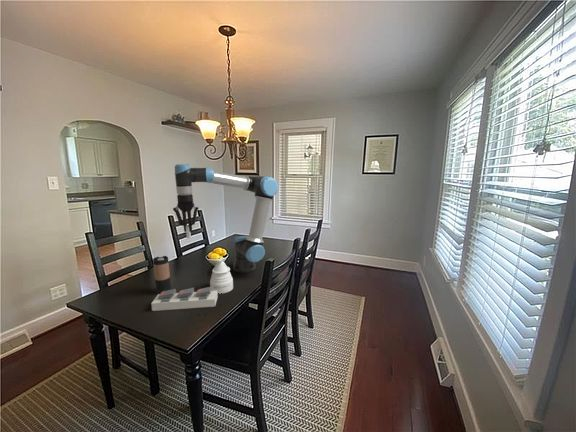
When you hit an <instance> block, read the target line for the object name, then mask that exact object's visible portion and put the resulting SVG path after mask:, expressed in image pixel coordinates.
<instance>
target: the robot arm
mask: <svg viewBox="0 0 576 432" xmlns="http://www.w3.org/2000/svg"><path fill="white" fill-rule="evenodd" d="M174 177H175V186H176V194H177V195H176V197H177V198H176V199H177V204H176V206H175V207H173V208H172V211H174V213H175V215H176V218H177V220H178V221H177V222H178V224H179V225H180V226H183V232H185V233H186V239H190V238H191V237H192V235H191V234H192V231H193V226H194V225H195V224H196V221H197V220H196V219H197V214H198V210H199V209H200V207H199V206H197V205H196V204H195V203H194V196H193V186H192V183H207V184H213V185H221V186H227V187H233V188H237V189H239V188H240V189H243V191H247V192H251V193H254V197H255V203H254V209H253V214H252V217H251V223H250V224H251V225H250V229H249V234H248V235H240V236H236V237H235V238H234V255H235V256H234V257H235V259H234V263H233V266H232V269H233V271H234V272H236V273H239V274H240V273H241V274H244V273H245V274H246V273H250V272H253V271H254V270H255V269H256V263H258V262H260V261H261V260H262V259H263V258H264V257H265V255H266V250H265V247H264V243H265V241H264V239H263V236H264V233H265V226H266V221H267V216H268V211H269V207H270V203H271V201H273V199H274V196H275V195H276V194H277V193H278V191H279V185H278V182H277V180H276V179H275V178H273V177H271V176H267V175H266V176H261V175H256V176H255V175H253V176H252V175H245V176H243V175H242V176H241V175H238V174H237V175H236V174H231V173H227V172H221V171H216V170H214V169H213V168H212V167H191V165H190V164H187V163H186V164H183V163H182V164H180V163H179V164H175V165H174ZM192 210H193V216H192ZM180 211H181V213H180Z"/></svg>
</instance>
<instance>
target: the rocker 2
mask: <svg viewBox="0 0 576 432" xmlns="http://www.w3.org/2000/svg"><path fill="white" fill-rule="evenodd" d="M211 291H212V287H210V286H209V287H208V286H207V287H203V288H198V289H197V291H196V292H197V293H196V297H199V296H203V295H207V294H210V293H211Z"/></svg>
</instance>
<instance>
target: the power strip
mask: <svg viewBox="0 0 576 432" xmlns="http://www.w3.org/2000/svg"><path fill="white" fill-rule="evenodd" d="M178 293H179V292H176V293H175V295H174V296H172V297H168V298H163V299H159V297H158V296H159V295H160V294H157V295H156V297H155V298H154V299H153V301H152V302H151V303H150V305H151V311H152V312H157V311H159V312H160V311H171V310H185V309H199V308H200V309H201V308H213V307H216V305H217V301H218V296H219V294H217V291H211V293H210V294H207V295H203V296H199V297H196V293H197V291H194V292H193V294H192V295H190V296H186V297H181V298H178V296H177V295H178Z"/></svg>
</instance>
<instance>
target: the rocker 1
mask: <svg viewBox="0 0 576 432" xmlns="http://www.w3.org/2000/svg"><path fill="white" fill-rule="evenodd" d="M175 293H177V290H176V288H173V289H172V288H171V290H167V291H163V292H161V294H160V295H159V296H158V297H159V299H163V298H168V297H172V296H174V295H175Z"/></svg>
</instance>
